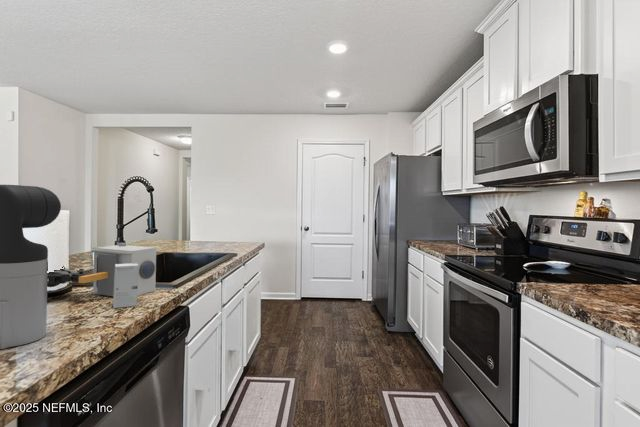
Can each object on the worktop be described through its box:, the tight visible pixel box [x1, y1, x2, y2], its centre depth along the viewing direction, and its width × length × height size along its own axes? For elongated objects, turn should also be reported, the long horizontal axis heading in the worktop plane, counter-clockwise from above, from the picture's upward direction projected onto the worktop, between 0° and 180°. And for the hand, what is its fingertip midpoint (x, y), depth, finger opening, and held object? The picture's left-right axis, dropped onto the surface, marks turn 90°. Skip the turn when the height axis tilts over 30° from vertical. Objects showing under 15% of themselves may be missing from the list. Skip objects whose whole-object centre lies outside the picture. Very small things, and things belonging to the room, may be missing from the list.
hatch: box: [78, 254, 118, 297], centre depth 100 cm, size 9×7×13 cm
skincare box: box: [112, 263, 139, 309], centre depth 95 cm, size 6×4×12 cm
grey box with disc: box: [90, 242, 157, 297], centre depth 109 cm, size 11×17×16 cm, turn 73°
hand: (84, 278), depth 97 cm, fingers closed
